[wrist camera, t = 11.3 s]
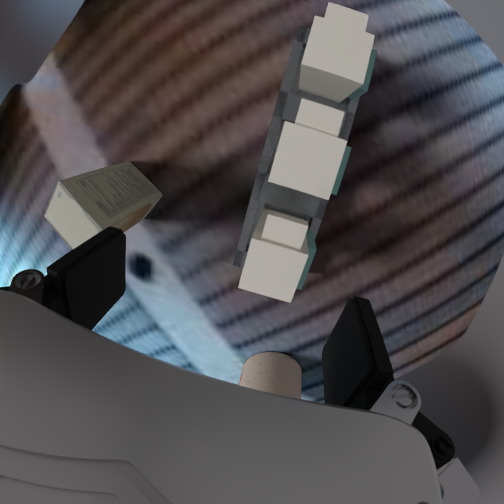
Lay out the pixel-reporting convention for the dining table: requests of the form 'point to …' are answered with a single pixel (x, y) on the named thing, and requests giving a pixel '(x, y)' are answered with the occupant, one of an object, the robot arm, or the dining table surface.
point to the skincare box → (100, 202)
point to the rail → (284, 111)
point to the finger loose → (278, 255)
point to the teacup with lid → (272, 374)
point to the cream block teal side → (338, 55)
